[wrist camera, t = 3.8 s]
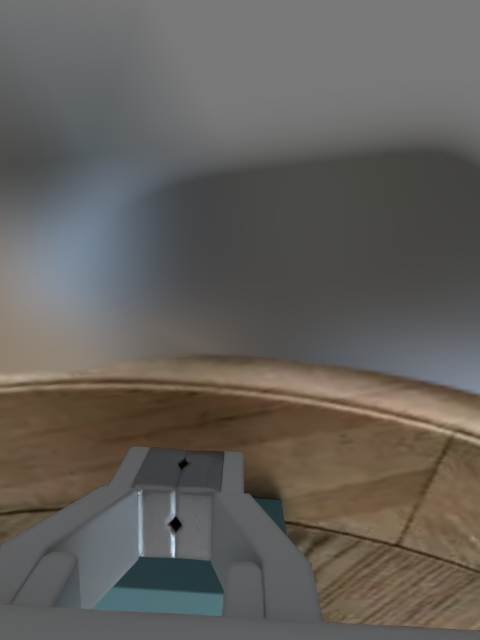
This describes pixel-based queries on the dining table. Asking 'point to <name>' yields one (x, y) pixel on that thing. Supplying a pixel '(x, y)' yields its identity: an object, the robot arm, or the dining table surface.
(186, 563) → the teal labeled box
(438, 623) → the dining table surface
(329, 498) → the dining table surface
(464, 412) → the dining table surface
